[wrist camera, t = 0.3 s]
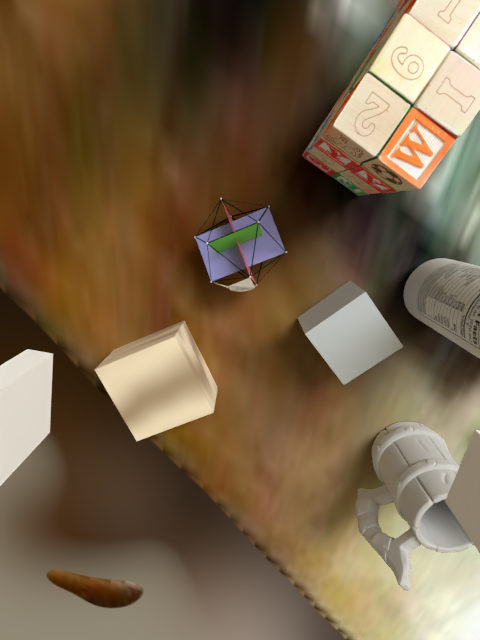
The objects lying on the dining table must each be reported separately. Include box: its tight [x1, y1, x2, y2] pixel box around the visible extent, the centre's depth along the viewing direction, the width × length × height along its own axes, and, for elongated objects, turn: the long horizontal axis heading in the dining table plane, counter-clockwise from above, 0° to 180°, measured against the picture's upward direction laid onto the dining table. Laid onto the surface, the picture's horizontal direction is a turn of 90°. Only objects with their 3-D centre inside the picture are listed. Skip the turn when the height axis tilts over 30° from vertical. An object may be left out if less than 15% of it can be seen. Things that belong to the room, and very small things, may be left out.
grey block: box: [298, 281, 403, 385], centre depth 33 cm, size 6×6×5 cm
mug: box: [355, 422, 474, 590], centre depth 34 cm, size 8×12×12 cm, turn 135°
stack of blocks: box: [302, 0, 480, 195], centre depth 23 cm, size 21×6×12 cm, turn 148°
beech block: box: [95, 321, 218, 441], centre depth 35 cm, size 8×8×5 cm
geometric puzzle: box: [194, 198, 287, 292], centre depth 30 cm, size 7×7×8 cm
